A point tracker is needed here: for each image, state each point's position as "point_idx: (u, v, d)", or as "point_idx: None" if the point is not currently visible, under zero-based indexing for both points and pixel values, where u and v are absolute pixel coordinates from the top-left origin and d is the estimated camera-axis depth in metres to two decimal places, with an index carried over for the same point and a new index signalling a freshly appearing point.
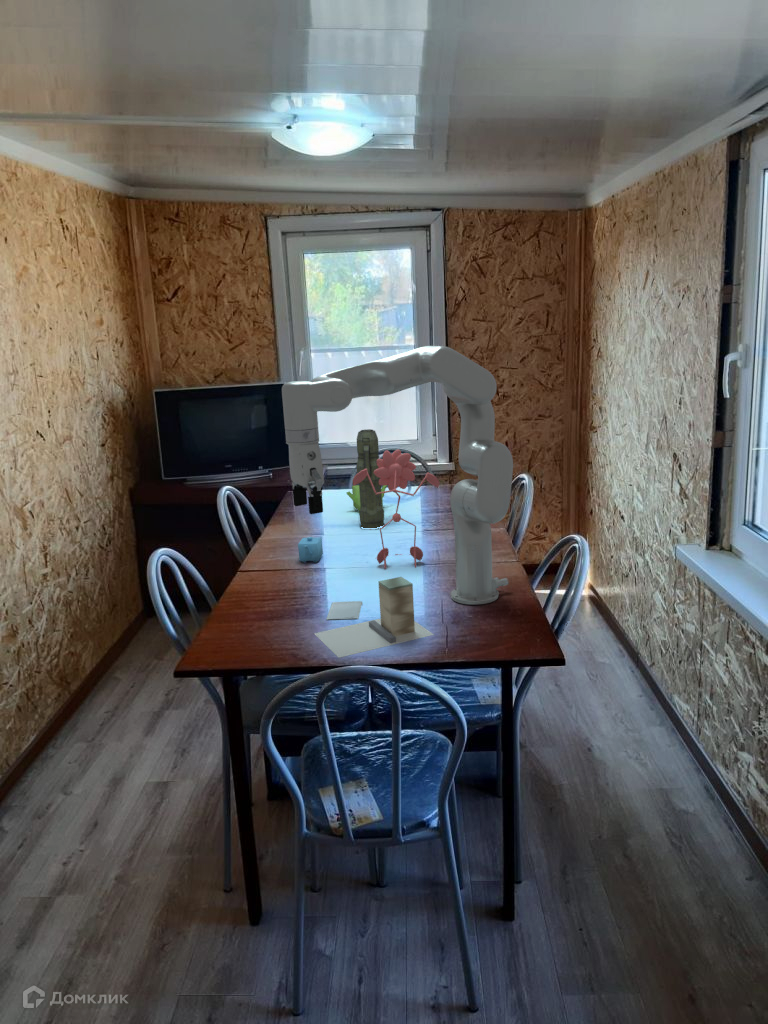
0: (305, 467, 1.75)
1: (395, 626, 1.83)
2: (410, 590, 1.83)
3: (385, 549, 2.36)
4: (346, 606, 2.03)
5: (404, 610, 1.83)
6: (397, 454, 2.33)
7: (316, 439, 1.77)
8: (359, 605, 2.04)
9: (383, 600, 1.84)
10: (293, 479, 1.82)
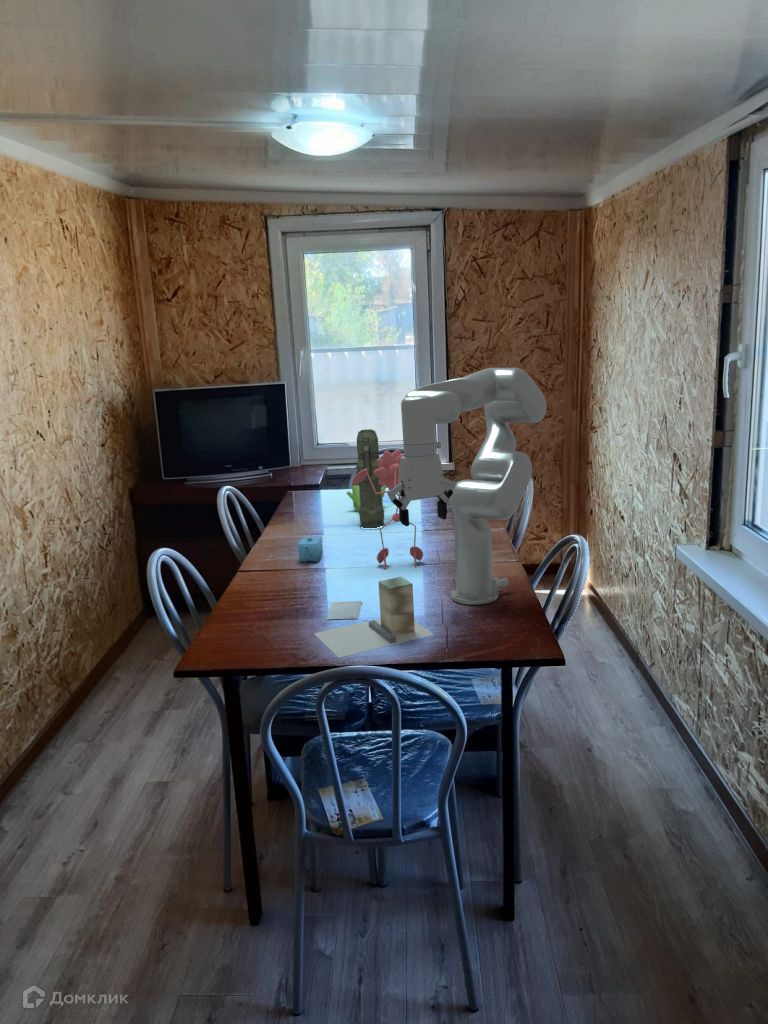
0: None
1: (395, 626, 1.83)
2: (410, 590, 1.83)
3: (385, 549, 2.36)
4: (346, 606, 2.03)
5: (404, 610, 1.83)
6: (397, 454, 2.33)
7: None
8: (359, 605, 2.04)
9: (383, 600, 1.84)
10: (415, 496, 1.80)
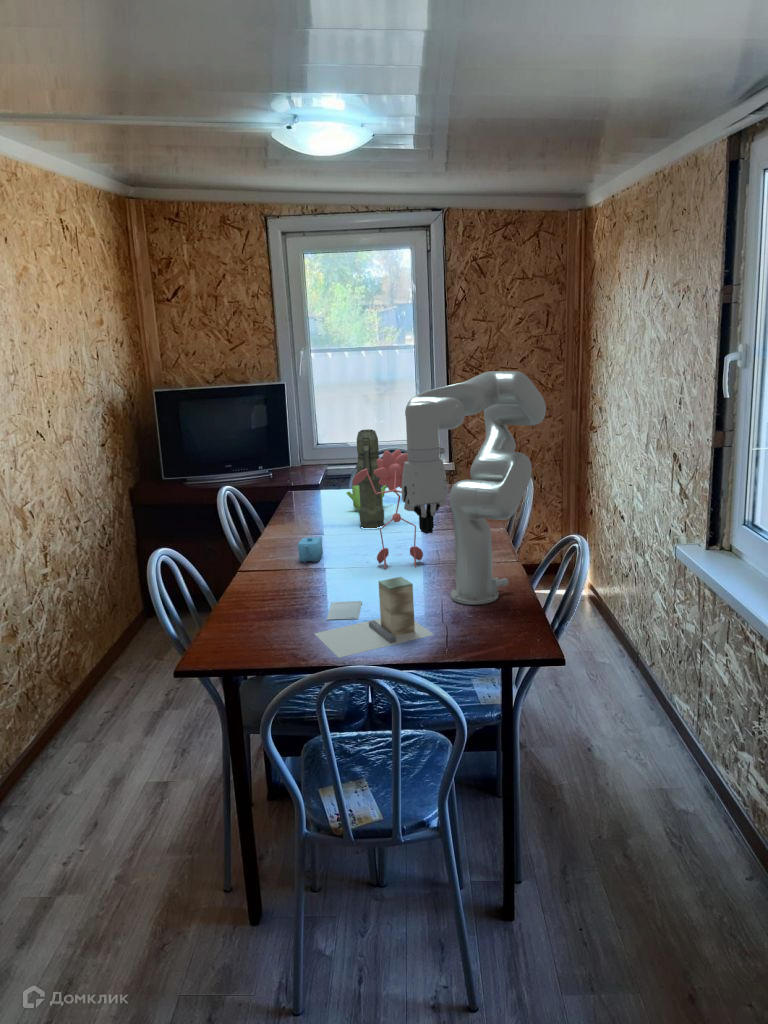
0: (446, 481, 1.82)
1: (395, 626, 1.83)
2: (410, 590, 1.83)
3: (385, 549, 2.36)
4: (346, 606, 2.03)
5: (404, 610, 1.83)
6: (397, 454, 2.33)
7: None
8: (359, 605, 2.04)
9: (383, 600, 1.84)
10: (419, 501, 1.80)
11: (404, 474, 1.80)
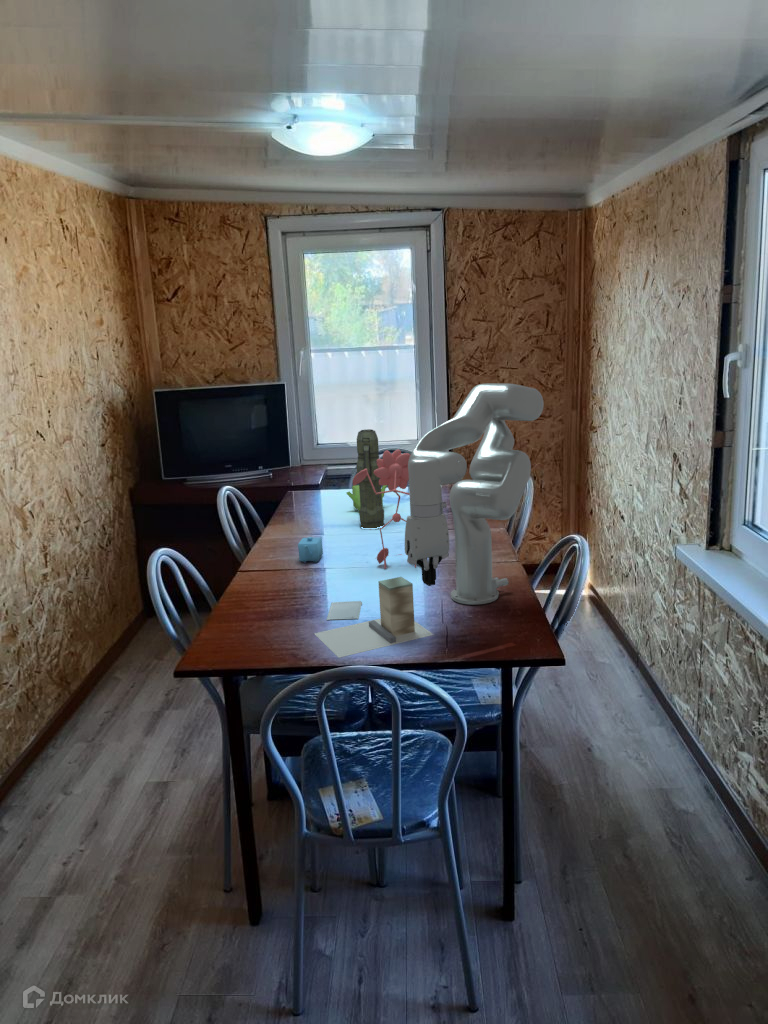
0: (448, 534, 1.85)
1: (395, 626, 1.83)
2: (410, 590, 1.83)
3: (385, 549, 2.36)
4: (346, 607, 2.03)
5: (404, 610, 1.83)
6: (397, 454, 2.33)
7: None
8: (359, 605, 2.04)
9: (383, 600, 1.84)
10: (421, 555, 1.83)
11: (407, 528, 1.83)
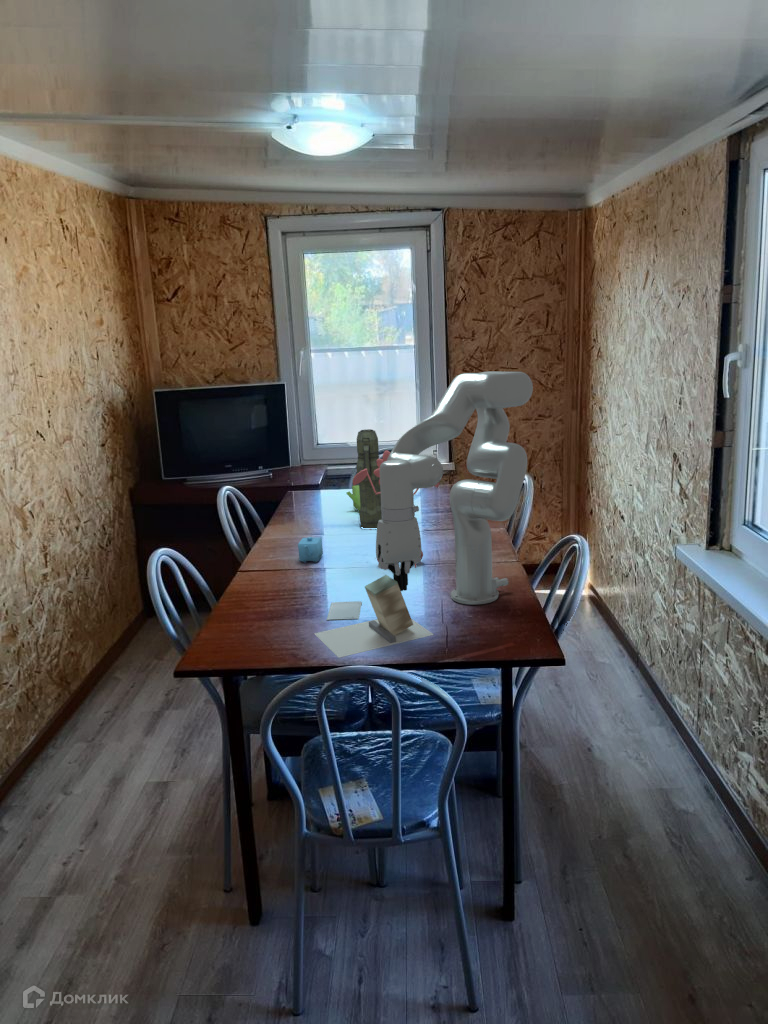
0: (420, 538, 1.82)
1: (392, 626, 1.82)
2: (397, 588, 1.81)
3: None
4: (346, 607, 2.03)
5: (397, 609, 1.82)
6: None
7: None
8: (359, 605, 2.04)
9: (374, 603, 1.84)
10: (393, 560, 1.80)
11: (378, 533, 1.80)
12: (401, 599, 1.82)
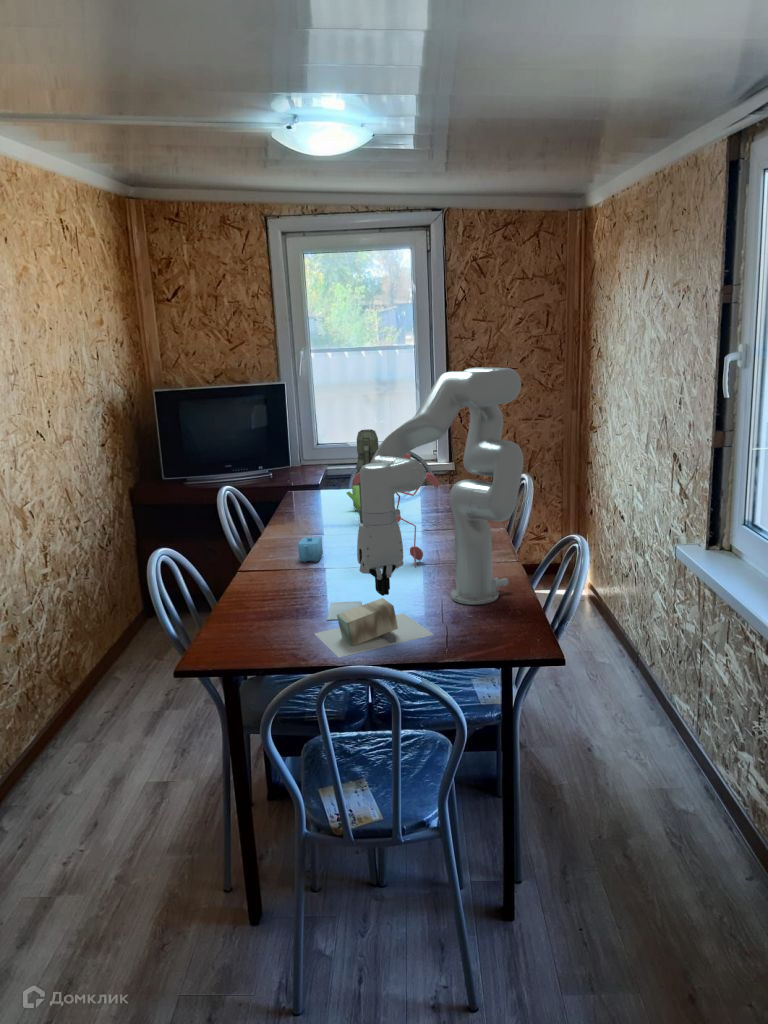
0: None
1: (388, 628, 1.82)
2: (353, 623, 1.78)
3: None
4: (346, 607, 2.03)
5: (373, 622, 1.80)
6: None
7: None
8: (359, 605, 2.04)
9: None
10: (374, 564, 1.78)
11: (359, 537, 1.78)
12: (365, 618, 1.79)
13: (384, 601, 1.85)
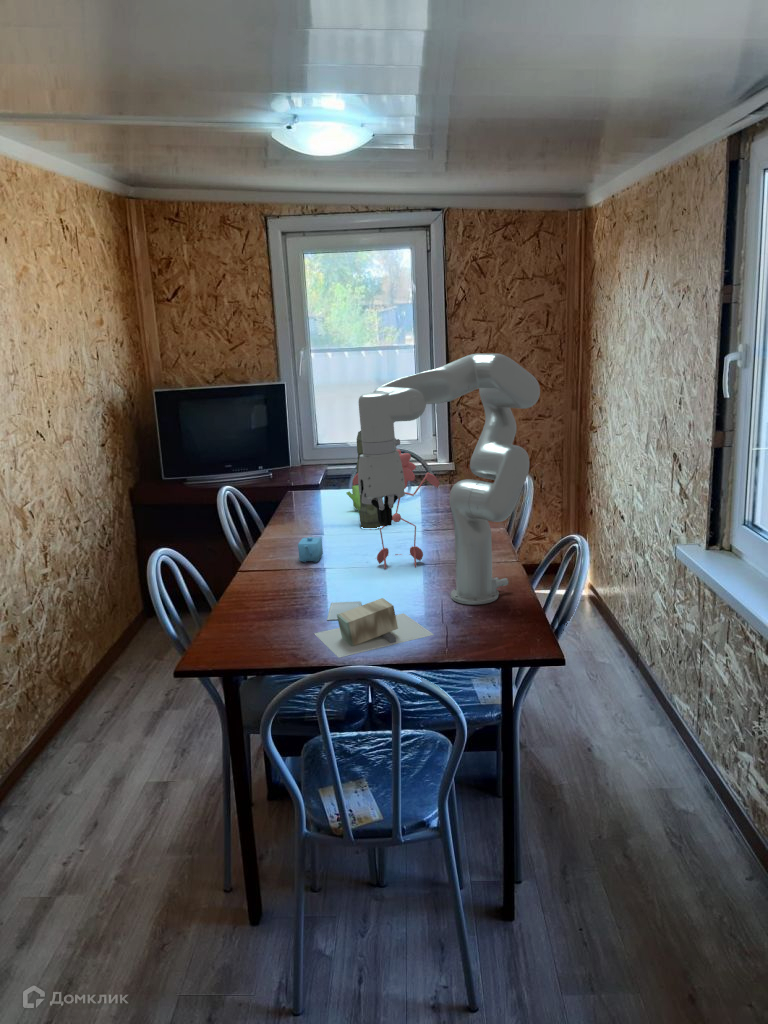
0: None
1: (388, 628, 1.82)
2: (353, 623, 1.78)
3: (385, 549, 2.36)
4: (346, 607, 2.03)
5: (373, 622, 1.80)
6: None
7: None
8: (359, 605, 2.04)
9: None
10: (376, 494, 1.78)
11: (360, 467, 1.78)
12: (365, 618, 1.79)
13: (384, 601, 1.85)
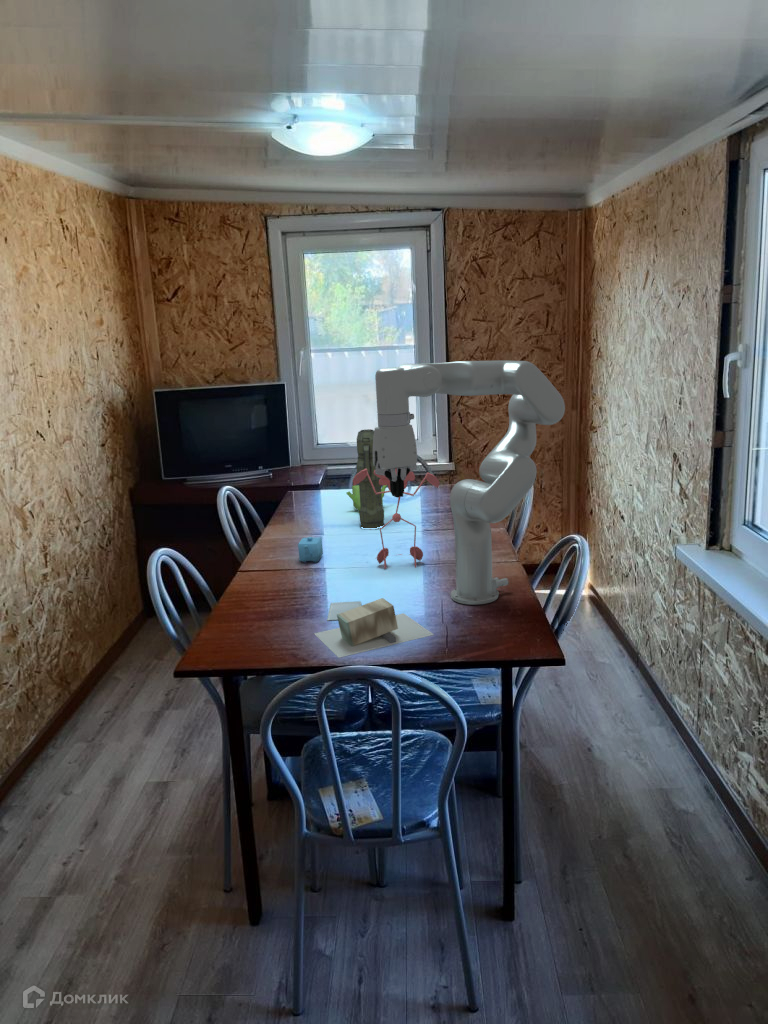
0: None
1: (388, 628, 1.82)
2: (353, 623, 1.78)
3: (385, 549, 2.36)
4: (346, 607, 2.03)
5: (373, 622, 1.80)
6: None
7: None
8: (358, 605, 2.04)
9: None
10: (389, 465, 1.85)
11: (374, 439, 1.85)
12: (365, 618, 1.79)
13: (384, 601, 1.85)
